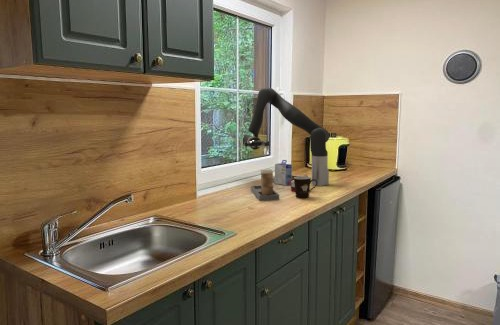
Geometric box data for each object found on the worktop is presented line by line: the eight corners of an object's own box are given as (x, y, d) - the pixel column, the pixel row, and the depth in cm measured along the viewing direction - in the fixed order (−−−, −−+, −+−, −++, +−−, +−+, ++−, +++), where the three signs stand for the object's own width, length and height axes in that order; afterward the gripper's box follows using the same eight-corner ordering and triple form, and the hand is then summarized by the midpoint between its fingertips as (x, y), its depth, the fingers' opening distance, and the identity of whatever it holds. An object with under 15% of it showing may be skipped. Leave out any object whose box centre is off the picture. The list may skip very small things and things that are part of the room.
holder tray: (268, 189, 209) (268, 185, 209) (279, 199, 183) (279, 194, 183) (251, 190, 207) (250, 186, 207) (259, 200, 182) (259, 195, 182)
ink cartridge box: (292, 184, 222) (292, 160, 220) (285, 185, 219) (285, 161, 217) (280, 182, 230) (280, 159, 228) (274, 183, 226) (274, 160, 225)
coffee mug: (292, 198, 185) (292, 179, 183) (294, 195, 193) (294, 176, 192) (316, 199, 182) (316, 179, 181) (317, 195, 190) (317, 176, 189)
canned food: (308, 200, 201) (309, 186, 195) (289, 198, 202) (290, 184, 196) (309, 187, 210) (311, 173, 204) (291, 185, 211) (292, 171, 205)
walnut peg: (271, 196, 190) (270, 169, 189) (273, 198, 185) (272, 170, 184) (261, 196, 190) (260, 169, 188) (263, 199, 185) (262, 171, 183)
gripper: (242, 136, 222) (246, 138, 206) (265, 136, 224) (271, 137, 208) (242, 149, 223) (246, 151, 207) (265, 148, 225) (271, 150, 209)
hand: (258, 144), depth 207 cm, fingers open, 8 cm apart
